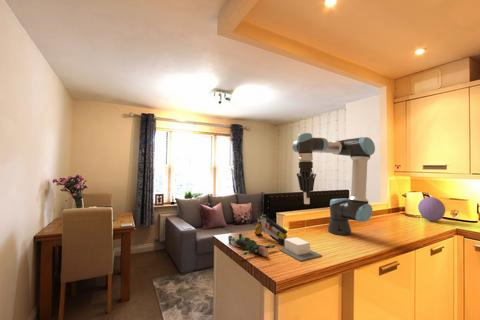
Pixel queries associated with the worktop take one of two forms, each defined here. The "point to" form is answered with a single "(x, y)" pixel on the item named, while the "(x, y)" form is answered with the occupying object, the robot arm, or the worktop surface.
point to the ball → (431, 208)
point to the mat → (302, 256)
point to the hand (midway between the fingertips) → (306, 203)
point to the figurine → (250, 245)
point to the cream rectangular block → (297, 245)
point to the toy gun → (270, 229)
